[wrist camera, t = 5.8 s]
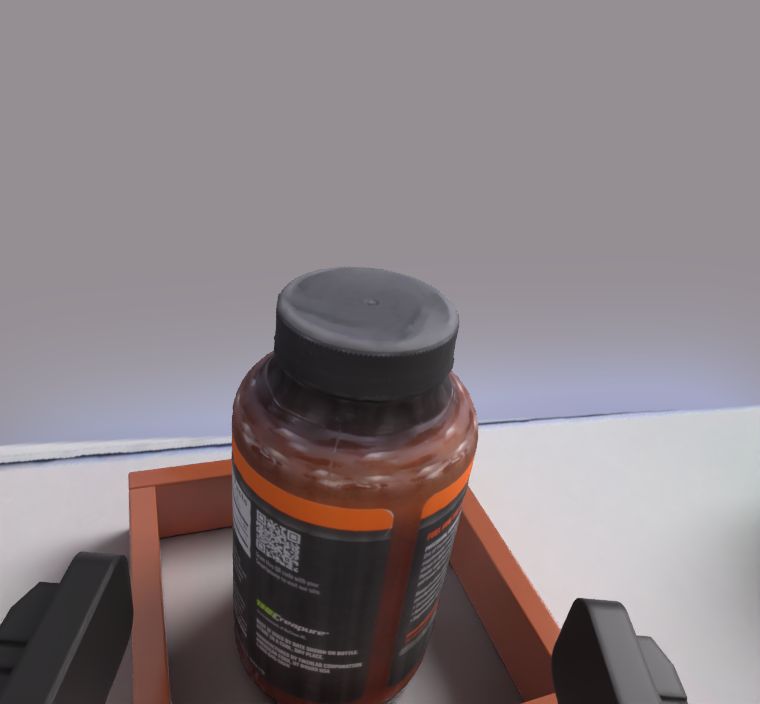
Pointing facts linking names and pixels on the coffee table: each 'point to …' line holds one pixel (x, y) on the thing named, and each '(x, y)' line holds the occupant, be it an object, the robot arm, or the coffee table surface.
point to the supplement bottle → (347, 486)
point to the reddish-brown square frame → (215, 510)
